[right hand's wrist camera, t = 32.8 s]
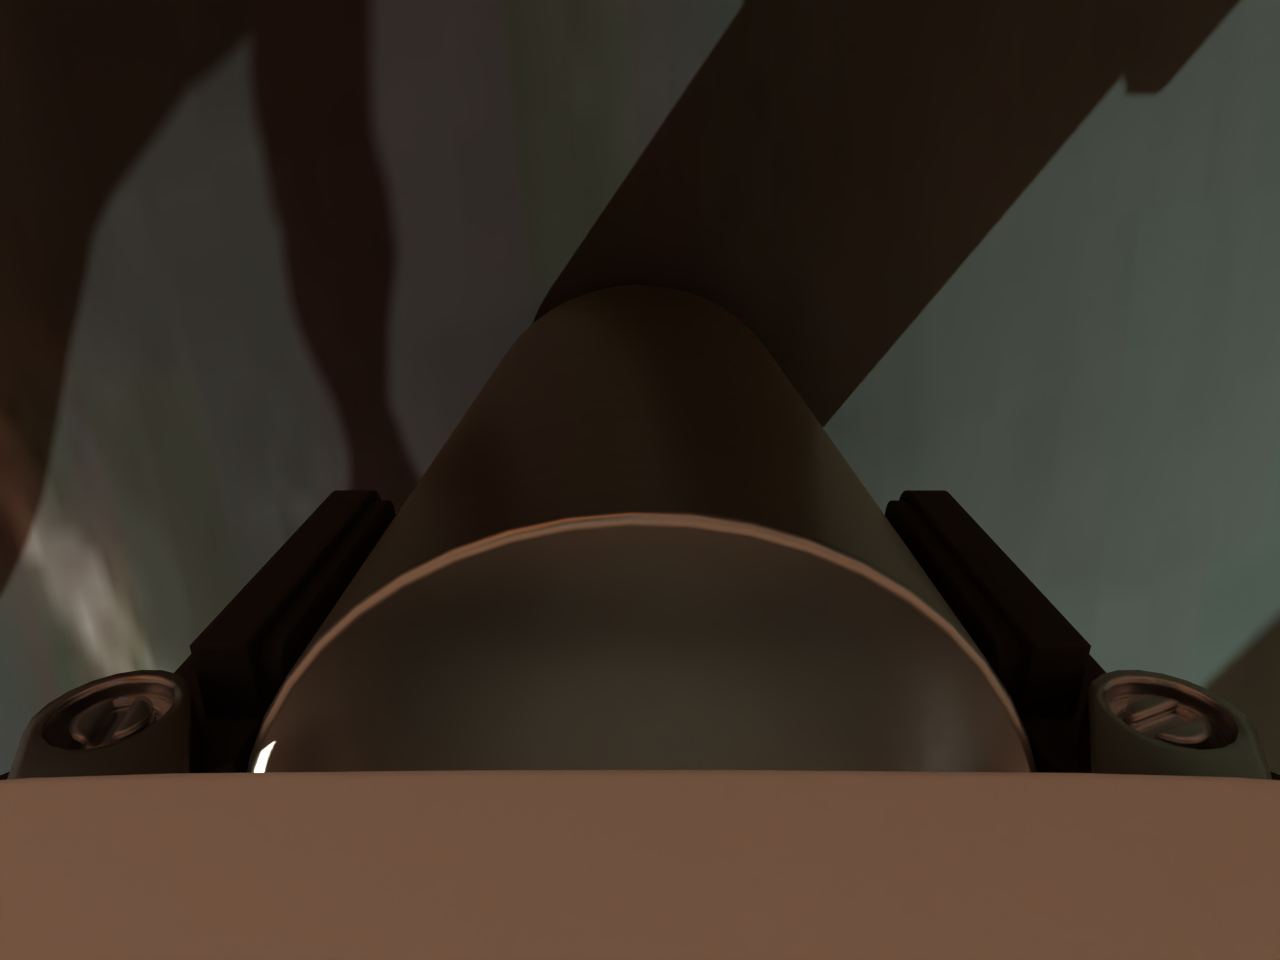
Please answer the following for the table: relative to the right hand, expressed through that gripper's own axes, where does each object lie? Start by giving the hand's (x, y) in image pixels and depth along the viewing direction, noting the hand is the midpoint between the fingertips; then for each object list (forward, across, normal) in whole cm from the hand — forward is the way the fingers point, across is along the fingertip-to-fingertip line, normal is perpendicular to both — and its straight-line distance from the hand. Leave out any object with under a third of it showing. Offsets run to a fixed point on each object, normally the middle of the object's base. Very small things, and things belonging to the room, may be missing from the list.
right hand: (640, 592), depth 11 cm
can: (+7, 0, 0) cm, 7 cm away
